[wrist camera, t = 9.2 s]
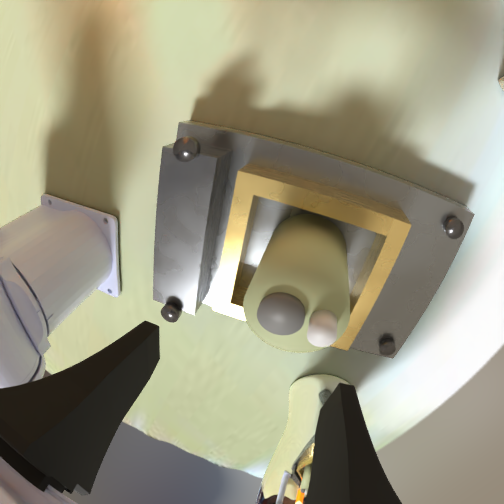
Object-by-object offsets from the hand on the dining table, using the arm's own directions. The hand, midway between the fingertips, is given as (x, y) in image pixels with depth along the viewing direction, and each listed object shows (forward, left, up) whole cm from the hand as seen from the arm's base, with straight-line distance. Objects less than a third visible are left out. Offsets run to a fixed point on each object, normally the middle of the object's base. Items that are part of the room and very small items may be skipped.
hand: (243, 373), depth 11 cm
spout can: (+1, +1, -9) cm, 9 cm away
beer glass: (+7, -13, -11) cm, 18 cm away
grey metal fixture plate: (+1, +1, -10) cm, 10 cm away
